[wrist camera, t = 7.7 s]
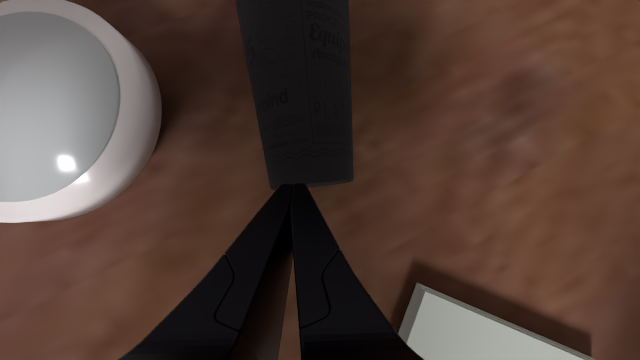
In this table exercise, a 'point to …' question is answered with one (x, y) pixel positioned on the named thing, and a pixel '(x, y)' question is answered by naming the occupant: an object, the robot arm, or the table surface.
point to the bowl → (70, 111)
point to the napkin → (471, 333)
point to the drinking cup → (301, 87)
